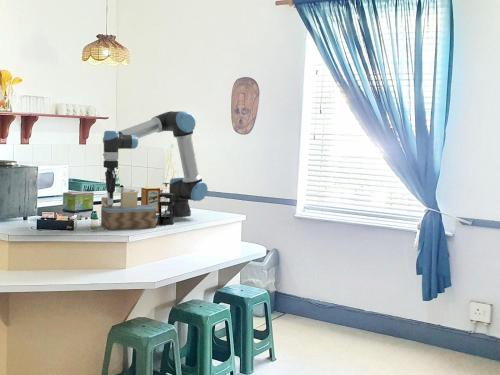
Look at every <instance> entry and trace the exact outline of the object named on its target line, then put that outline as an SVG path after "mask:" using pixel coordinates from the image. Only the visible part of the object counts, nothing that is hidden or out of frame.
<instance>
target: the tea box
mask: <svg viewBox="0 0 500 375" xmlns="http://www.w3.org/2000/svg"><path fill="white" fill-rule="evenodd" d="M94 193H95V192H92V191H84V190H81V191H80V190H79V191H78V190H77V191H68V192H62V215H63V216H68V217H71V216H74V215H77V219H85V218H92V217H91V213H92V212H93V213H94ZM62 215H61V216H62ZM77 219H76V220H77Z"/></svg>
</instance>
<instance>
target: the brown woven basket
mask: <svg viewBox="0 0 500 375" xmlns="http://www.w3.org/2000/svg"><path fill="white" fill-rule="evenodd" d="M100 221H101V222H100V226H101V227H102V228H104V227H105V229H106V230H108V231H115V230H135V229H154V228H157V213H156V211H146V212H120V213H108V212H106V211H104V210H102V209H101V212H100Z"/></svg>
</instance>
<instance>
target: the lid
mask: <svg viewBox="0 0 500 375" xmlns="http://www.w3.org/2000/svg"><path fill="white" fill-rule="evenodd" d="M100 207H101V209H102V210H104V211H106V212H108V213H120V212H146V211H156V208H154V207H152V206H149V205H141V204H138V192H136V191H123V192H121V191H120V205H112V207H105V206H103V205H101V206H100Z"/></svg>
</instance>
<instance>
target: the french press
mask: <svg viewBox="0 0 500 375" xmlns="http://www.w3.org/2000/svg"><path fill="white" fill-rule="evenodd" d="M169 184H170V182H163V183H162V185H164V186H165V189H167V187H168V185H169ZM158 195H159V197H160V198H165V199H166V200H167V199H170V198H173V195H174V194H172V193H169V192H160V193H158ZM166 200H163V201H160V202H158V205H159V212H158V213H157V214H158V216H157V217H156V225H162V226H172V225H174V224H175V223H174V219H175V217H176V216H175V202H169V201H166ZM168 206H170V212H169V211H166V210H167V207H168ZM162 207H164V208H165V209H164V210H162ZM166 214H170V216H162V215H166Z"/></svg>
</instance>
